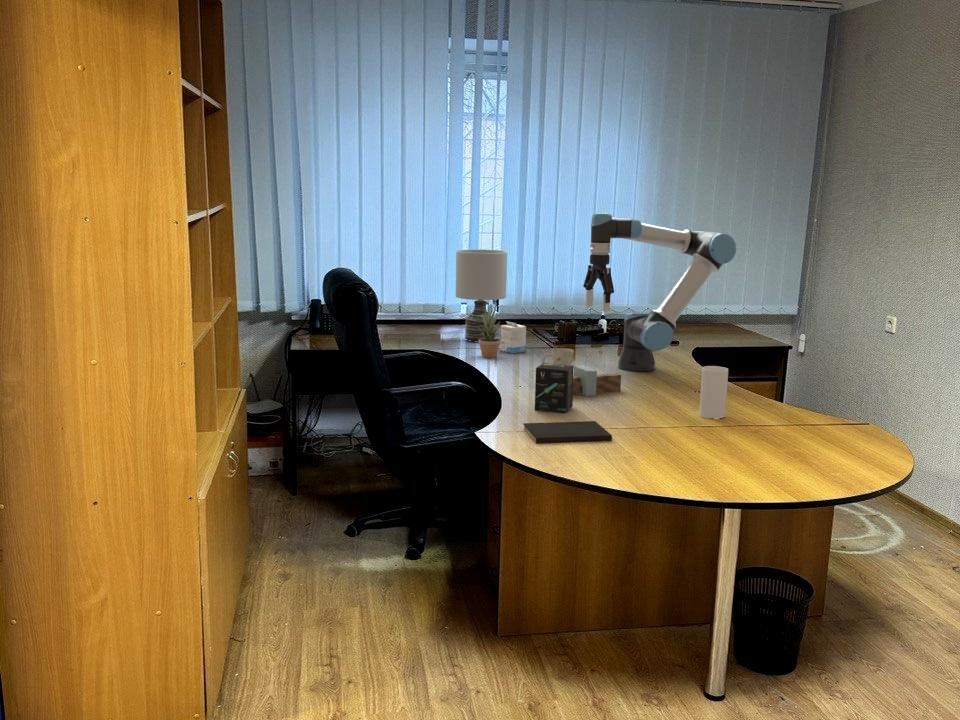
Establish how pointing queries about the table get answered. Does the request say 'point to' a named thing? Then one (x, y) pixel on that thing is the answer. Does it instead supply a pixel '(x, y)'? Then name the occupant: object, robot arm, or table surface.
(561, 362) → the mug
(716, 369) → the cup
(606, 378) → the walnut rail
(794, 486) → the table surface
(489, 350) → the potted plant
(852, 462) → the table surface
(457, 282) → the lamp
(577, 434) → the hardcover book
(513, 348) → the white box
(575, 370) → the blue-grey notched block
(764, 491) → the table surface
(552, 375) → the tampon box
